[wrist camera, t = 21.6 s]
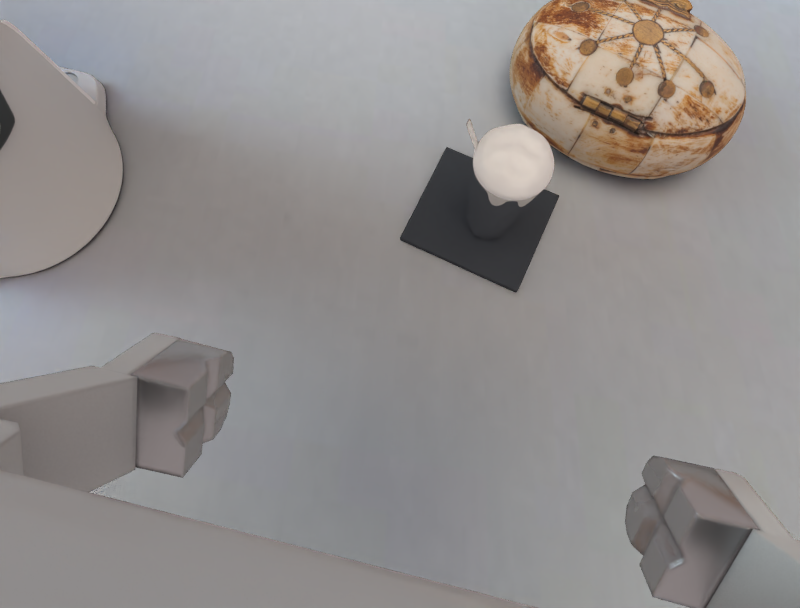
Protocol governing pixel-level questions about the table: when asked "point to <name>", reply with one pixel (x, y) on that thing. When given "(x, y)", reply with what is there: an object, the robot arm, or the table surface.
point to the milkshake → (505, 177)
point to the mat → (451, 238)
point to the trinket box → (628, 85)
